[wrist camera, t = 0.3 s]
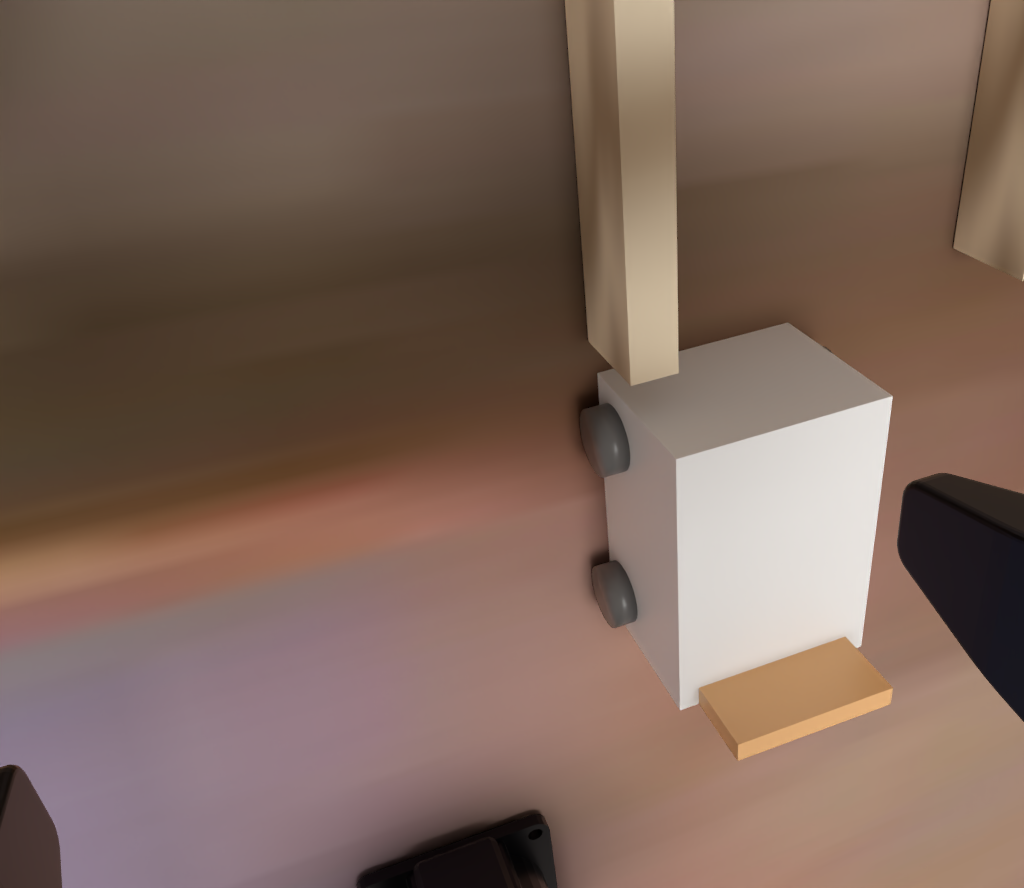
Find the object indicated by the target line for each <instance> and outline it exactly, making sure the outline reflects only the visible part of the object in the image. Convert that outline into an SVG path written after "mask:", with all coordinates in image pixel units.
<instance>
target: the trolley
mask: <svg viewBox="0 0 1024 888" xmlns="http://www.w3.org/2000/svg"><path fill="white" fill-rule="evenodd" d="M678 359H679V373H677V374H674V375H670V376H666V377H663V378H659V379H655V380H651V381H648V382H644V383H640V384H637V385H633V386H630V385H629V384H628V383H627V382H626V381H625V380H624V378H623V377H622V376H621V375H620V374H619V373H618V372H617V371H616V370H615V369H610V370H607V371H603V372H599V373H597V376H598V392H599V405H597V406H594V407H590V408H586V409H583V410H582V411H581V414H580V432H581V437H582V442H583V446H584V449H585V452H586V455H587V458H588V460H589V462H590V464H591V466H592V468H593V470H594V471H595V473H596V474H597V475H598V476H599V477H601V478H604V482H605V497H606V512H607V527H608V543H609V558H610V562H607V563H604V564H601V565H597V566H594V567H593V569H592V582H593V587H594V592H595V595H596V599H597V602H598V604H599V607H600V609H601V612H602V614H603V616H604V618H605V619H606V621H607V623H608V624H609V625H610V626H611V627H612V628H617V627H620V626H623V625H625V626H626V628H627V629H628V631H629V632H630V634H631V635H632V637H633V638H634V640H635V642H636V643H637V645H638V646H639V648H640V649H641V651H642V652H643V654H644V655H645V657H646V659H647V660H648V662H649V663H650V665H651V666H652V668H653V669H654V671H655V672H656V674H657V676H658V677H659V679H660V680H661V682H662V683H663V685H664V686H665V688H666V689H667V691H668V693H669V694H670V696H671V697H672V699H673V700H674V702H675V703H676V705H677V706H678V708H679V709H680V710H682V709H685V708H688V707H691V706H694V705H696V704H699V705H700V706H701V707H702V709H703V710H704V712H705V713H706V715H707V716H708V718H709V719H710V721H711V722H712V724H713V725H714V727H715V728H716V730H717V731H718V733H719V734H720V736H721V737H722V739H723V740H724V742H725V743H726V745H727V746H728V747H729V749H730V750H731V752H732V753H733V755H734V756H735V758H736V759H737V761H739V760H742V759H744V758H747V757H750V756H752V755H755V754H758V753H760V752H763V751H766V750H768V749H771V748H774V747H777V746H779V745H782V744H785V743H787V742H790V741H793V740H795V739H798V738H801V737H803V736H806V735H809V734H811V733H814V732H817V731H820V730H822V729H825V728H828V727H830V726H833V725H836V724H838V723H841V722H844V721H846V720H849V719H852V718H854V717H857V716H860V715H863V714H865V713H868V712H871V711H873V710H876V709H879V708H881V707H884V706H887V705H889V704H890V703H891V697H892V690H893V687H892V686H891V685H890V684H889V683H888V682H887V681H886V680H885V679H884V678H883V677H882V676H881V674H880V673H879V672H878V671H877V670H876V669H875V668H874V667H873V666H872V665H871V664H870V663H869V661H868V660H867V659H866V658H865V657H864V656H863V655H862V654H861V653H860V652H859V651H858V650H857V647H860V646H861V642H862V635H863V627H864V619H865V611H866V603H867V595H868V587H869V579H870V572H871V564H872V556H873V548H874V540H875V532H876V524H877V516H878V509H879V501H880V493H881V485H882V477H883V469H884V461H885V453H886V446H887V438H888V430H889V422H890V414H891V406H892V398H893V396H892V395H891V394H889V393H888V392H886V391H885V390H883V389H882V388H881V387H879V386H878V385H876V384H875V383H874V382H872V381H871V380H869V379H868V378H866V377H865V376H864V375H862V374H861V373H859V372H858V371H856V370H855V369H854V368H852V367H851V366H849V365H848V364H847V363H845V362H844V361H842V360H841V359H839V358H838V357H837V356H835V355H834V354H833V353H832V352H831V351H830V350H829V349H827V348H826V347H824V346H821V345H819V344H818V343H817V342H815V341H814V340H812V339H811V338H810V337H808V336H807V335H805V334H804V333H802V332H801V331H800V330H798V329H797V328H795V327H794V326H792V325H791V324H790V323H784V324H780V325H777V326H773V327H769V328H765V329H761V330H758V331H754V332H750V333H746V334H743V335H739V336H735V337H731V338H727V339H724V340H720V341H716V342H712V343H709V344H705V345H701V346H697V347H693V348H690V349H686V350H682V351H678Z"/></svg>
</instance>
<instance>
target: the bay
mask: <svg viewBox="0 0 1024 888" xmlns="http://www.w3.org/2000/svg"><path fill="white" fill-rule="evenodd" d="M565 12H566V26H567V41H568V55H569V70H570V84H571V98H572V113H573V127H574V142H575V156H576V171H577V185H578V199H579V214H580V228H581V243H582V257H583V272H584V286H585V301H586V315H587V329H588V342H589V343H590V344H591V345H592V346H593V347H594V348H595V349H596V350H597V351H598V352H599V353H600V354H601V355H602V356H603V357H604V358H605V360H606V361H607V362H608V363H609V364H610V365H611V366H612V367H613V368H614V369H615V370H616V371H617V372H618V373H619V374H620V375H621V376H622V377H623V378H624V380H625V381H626V382H627V383H628V384H629V385H630V386H633V385H637V384H640V383H644V382H648V381H651V380H655V379H659V378H663V377H666V376H670V375H674V374H677V373H679V359H678V279H677V198H676V117H675V36H674V0H565ZM953 248H954V249H956V250H958V251H960V252H962V253H964V254H966V255H969V256H971V257H973V258H975V259H977V260H979V261H981V262H983V263H985V264H988V265H990V266H992V267H994V268H996V269H998V270H1000V271H1002V272H1005V273H1007V274H1009V275H1011V276H1013V277H1015V278H1017V279H1019V280H1021V281H1023V280H1024V0H991V3H990V10H989V17H988V23H987V30H986V36H985V43H984V49H983V56H982V62H981V69H980V76H979V82H978V89H977V95H976V102H975V108H974V115H973V122H972V128H971V135H970V141H969V148H968V154H967V161H966V167H965V174H964V181H963V187H962V194H961V200H960V207H959V213H958V220H957V226H956V233H955V240H954V246H953Z"/></svg>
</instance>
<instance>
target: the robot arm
mask: <svg viewBox="0 0 1024 888" xmlns="http://www.w3.org/2000/svg"><path fill="white" fill-rule="evenodd" d="M897 547H898V553H899V556H900V559H901V561H902V563H903V565H904V567H905V568H906V570H907V571H908V572H909V574H910V575H911V576H912V578H913V579H914V581H915V582H916V583H917V585H918V586H919V588H920V589H921V590H922V592H923V593H924V595H925V596H926V597H927V599H928V600H929V601H930V603H931V604H932V606H933V607H934V608H935V610H936V611H937V613H938V614H939V615H940V617H941V618H942V620H943V621H944V622H945V624H946V625H947V626H948V628H949V629H950V631H951V632H952V633H953V635H954V636H955V638H956V639H957V640H958V642H959V643H960V645H961V646H962V647H963V649H964V650H965V651H966V653H967V654H968V656H969V657H970V658H971V660H972V661H973V662H974V664H975V665H976V666H977V668H978V669H979V670H980V671H981V673H982V674H983V675H984V677H985V678H986V679H987V680H988V681H989V683H990V684H991V685H992V686H993V687H994V689H995V690H996V691H997V692H998V693H999V695H1000V696H1001V697H1002V698H1003V699H1004V700H1005V701H1006V702H1007V704H1008V705H1009V706H1010V707H1011V708H1012V709H1013V710H1014V712H1015V713H1016V714H1017V715H1018V716H1019V717H1020V718H1021V719H1022V721H1023V722H1024V494H1022V493H1018V492H1015V491H1011V490H1007V489H1004V488H1000V487H996V486H993V485H989V484H985V483H981V482H978V481H974V480H970V479H967V478H963V477H959V476H956V475H952V474H948V473H938V474H934V475H931V476H928V477H925V478H921V479H918V480H915V481H913V482H911V483H909V484H908V485H907V487H906V488H905V490H904V492H903V497H902V505H901V513H900V522H899V530H898V538H897ZM0 888H62V877H61V859H60V846H59V840H58V835H57V831H56V828H55V825H54V823H53V821H52V819H51V817H50V815H49V814H48V812H47V810H46V808H45V806H44V805H43V803H42V801H41V799H40V798H39V796H38V794H37V792H36V790H35V789H34V787H33V785H32V783H31V782H30V780H29V778H28V776H27V775H26V773H25V772H24V771H23V770H22V769H21V768H20V767H19V766H16V765H6V766H3V767H0ZM357 888H557V881H556V874H555V866H554V859H553V852H552V844H551V837H550V830H549V827H548V825H547V822H546V820H545V818H544V816H542V815H539V814H534V815H530V816H527V817H524V818H522V819H519V820H516V821H513V822H511V823H508V824H505V825H502V826H500V827H497V828H494V829H491V830H489V831H486V832H483V833H480V834H478V835H475V836H472V837H469V838H467V839H464V840H461V841H458V842H456V843H453V844H450V845H447V846H445V847H442V848H439V849H436V850H434V851H431V852H428V853H426V854H423V855H420V856H417V857H415V858H412V859H409V860H406V861H404V862H401V863H398V864H395V865H393V866H390V867H387V868H384V869H382V870H379V871H376V872H373V873H371V874H368V875H366V876H364V877H363V878H362V879H360V880H359V882H358V884H357Z"/></svg>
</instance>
